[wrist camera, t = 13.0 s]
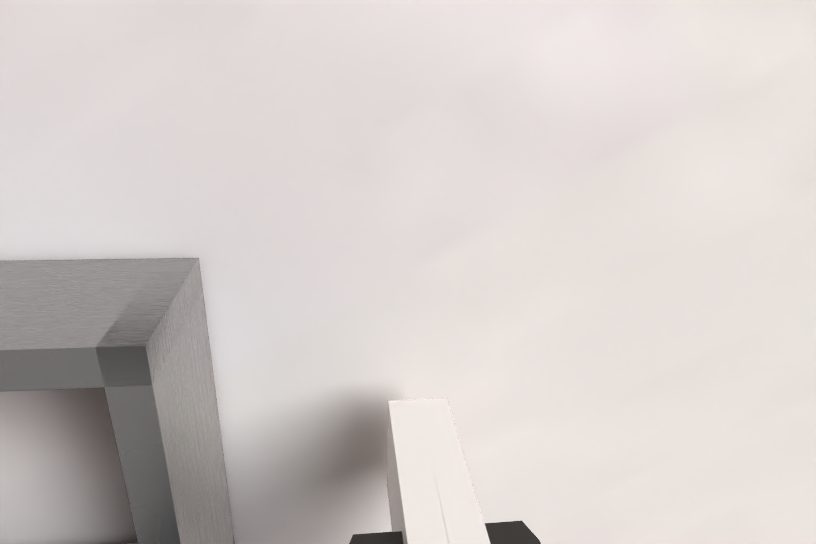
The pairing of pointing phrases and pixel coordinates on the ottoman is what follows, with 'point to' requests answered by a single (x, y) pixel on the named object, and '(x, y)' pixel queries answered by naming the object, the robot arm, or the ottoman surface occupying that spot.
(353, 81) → the ottoman surface
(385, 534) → the robot arm
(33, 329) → the cap
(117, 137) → the ottoman surface
